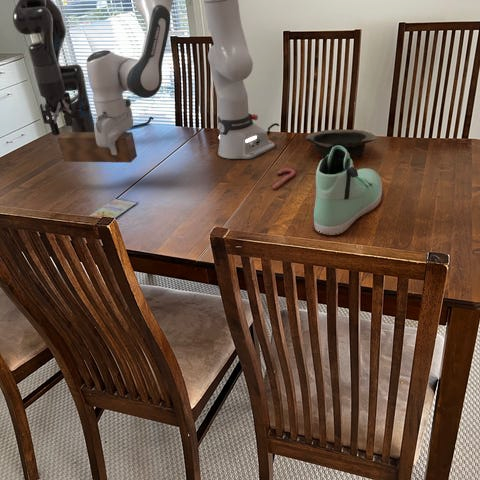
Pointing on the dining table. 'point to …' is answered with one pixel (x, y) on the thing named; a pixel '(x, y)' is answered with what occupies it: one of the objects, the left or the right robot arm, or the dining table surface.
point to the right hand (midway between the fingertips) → (119, 150)
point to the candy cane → (284, 177)
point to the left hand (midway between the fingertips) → (63, 130)
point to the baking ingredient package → (113, 208)
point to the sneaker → (343, 192)
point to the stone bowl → (340, 141)
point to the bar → (95, 148)
